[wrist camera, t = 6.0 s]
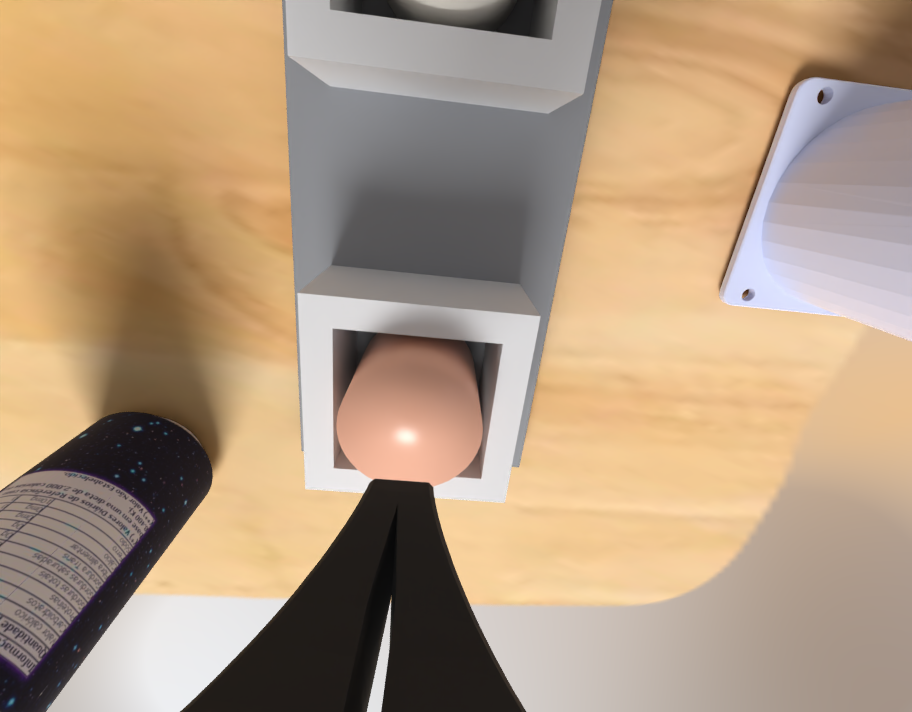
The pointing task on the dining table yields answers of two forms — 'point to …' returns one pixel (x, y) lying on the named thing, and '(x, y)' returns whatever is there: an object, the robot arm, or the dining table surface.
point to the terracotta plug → (412, 410)
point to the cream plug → (455, 12)
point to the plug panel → (432, 203)
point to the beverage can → (87, 544)
